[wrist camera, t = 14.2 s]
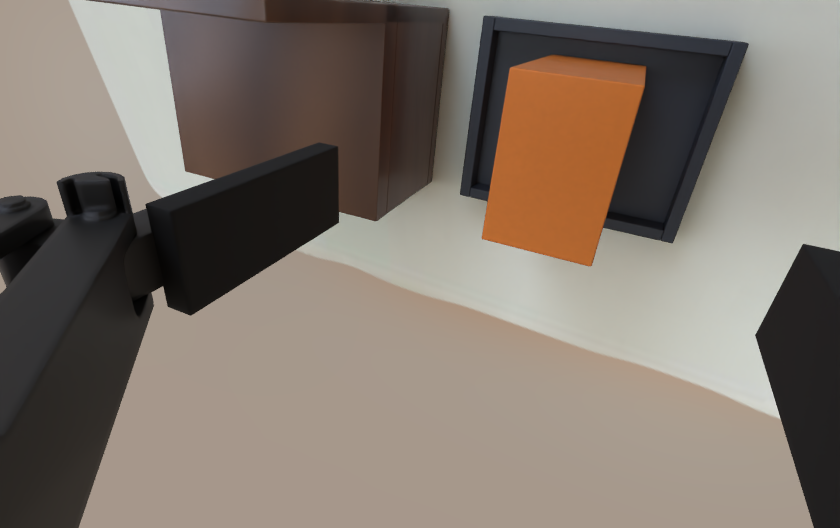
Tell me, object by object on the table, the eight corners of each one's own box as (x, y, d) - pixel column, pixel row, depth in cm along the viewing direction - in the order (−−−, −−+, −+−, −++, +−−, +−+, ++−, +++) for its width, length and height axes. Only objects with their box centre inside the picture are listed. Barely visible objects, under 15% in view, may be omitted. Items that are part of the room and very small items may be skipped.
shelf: (449, 8, 34) (264, -7, 18) (431, 181, 40) (282, 289, 24) (258, -11, 39) (-22, -37, 23) (268, 145, 46) (54, 212, 29)
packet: (646, 65, 30) (645, 85, 20) (607, 198, 35) (591, 267, 25) (552, 54, 32) (509, 67, 22) (526, 181, 36) (481, 239, 27)
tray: (743, 42, 28) (749, 43, 27) (671, 232, 34) (672, 243, 33) (491, 16, 33) (483, 15, 31) (467, 187, 39) (459, 194, 38)
